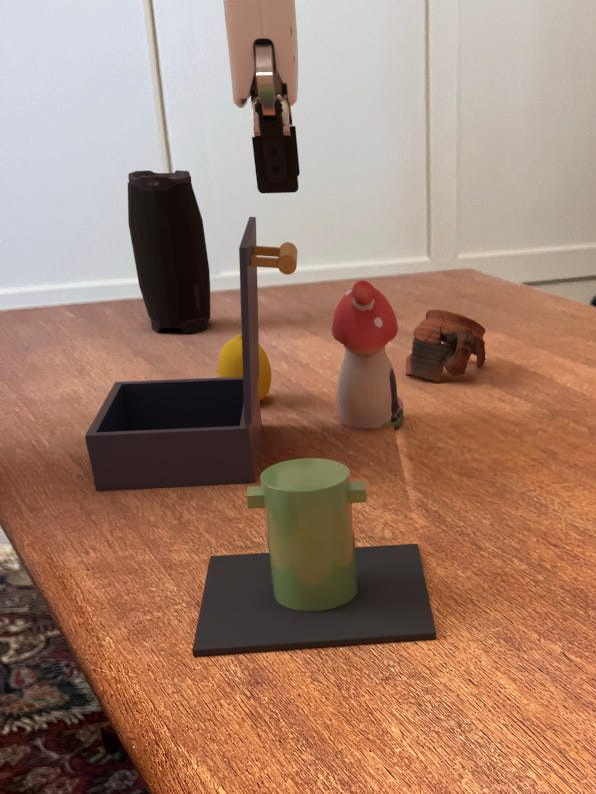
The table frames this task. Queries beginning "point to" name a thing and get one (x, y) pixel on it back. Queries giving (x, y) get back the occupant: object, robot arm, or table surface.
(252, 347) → the box lid
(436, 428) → the table surface
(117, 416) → the box
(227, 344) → the lemon
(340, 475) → the green pot
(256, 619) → the grey mat
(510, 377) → the table surface
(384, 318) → the decorative ornament
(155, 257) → the portable speaker
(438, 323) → the brown carved piece
